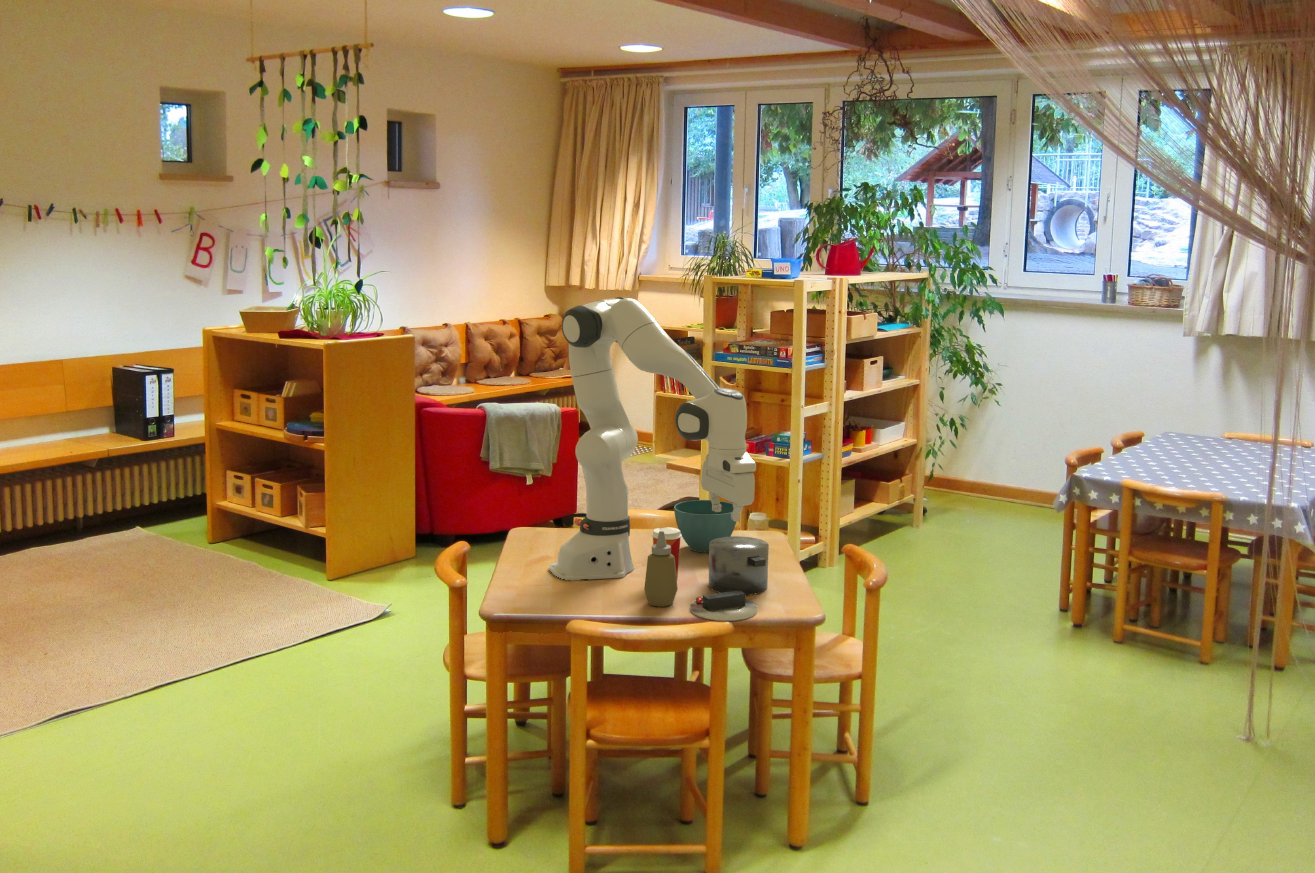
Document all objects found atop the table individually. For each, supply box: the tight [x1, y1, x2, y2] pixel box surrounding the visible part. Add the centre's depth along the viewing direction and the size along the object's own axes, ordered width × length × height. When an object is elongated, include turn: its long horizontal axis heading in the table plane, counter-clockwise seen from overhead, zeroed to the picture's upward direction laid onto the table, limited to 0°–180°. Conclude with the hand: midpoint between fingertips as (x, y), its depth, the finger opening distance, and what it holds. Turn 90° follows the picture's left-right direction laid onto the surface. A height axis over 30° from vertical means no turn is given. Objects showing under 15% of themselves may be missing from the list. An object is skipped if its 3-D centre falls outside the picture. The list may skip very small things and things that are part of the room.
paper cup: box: [651, 526, 683, 579], centre depth 296 cm, size 8×8×14 cm
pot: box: [708, 535, 770, 596], centre depth 295 cm, size 15×22×11 cm
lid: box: [689, 590, 758, 622], centre depth 277 cm, size 16×16×4 cm
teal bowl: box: [673, 499, 738, 554], centre depth 328 cm, size 18×18×12 cm
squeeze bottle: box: [643, 531, 678, 607], centre depth 280 cm, size 8×8×18 cm
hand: (725, 515), depth 273 cm, fingers open, 8 cm apart
